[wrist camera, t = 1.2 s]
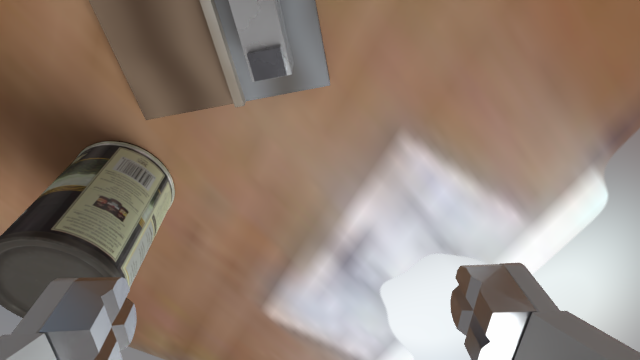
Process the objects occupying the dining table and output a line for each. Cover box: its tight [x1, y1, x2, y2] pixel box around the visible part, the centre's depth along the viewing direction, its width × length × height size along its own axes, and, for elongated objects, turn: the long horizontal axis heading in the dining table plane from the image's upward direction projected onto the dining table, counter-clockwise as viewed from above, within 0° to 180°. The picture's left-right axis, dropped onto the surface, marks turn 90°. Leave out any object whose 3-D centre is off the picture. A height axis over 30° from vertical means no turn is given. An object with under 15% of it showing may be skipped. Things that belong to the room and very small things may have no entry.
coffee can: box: [0, 141, 175, 318], centre depth 36 cm, size 10×10×14 cm
